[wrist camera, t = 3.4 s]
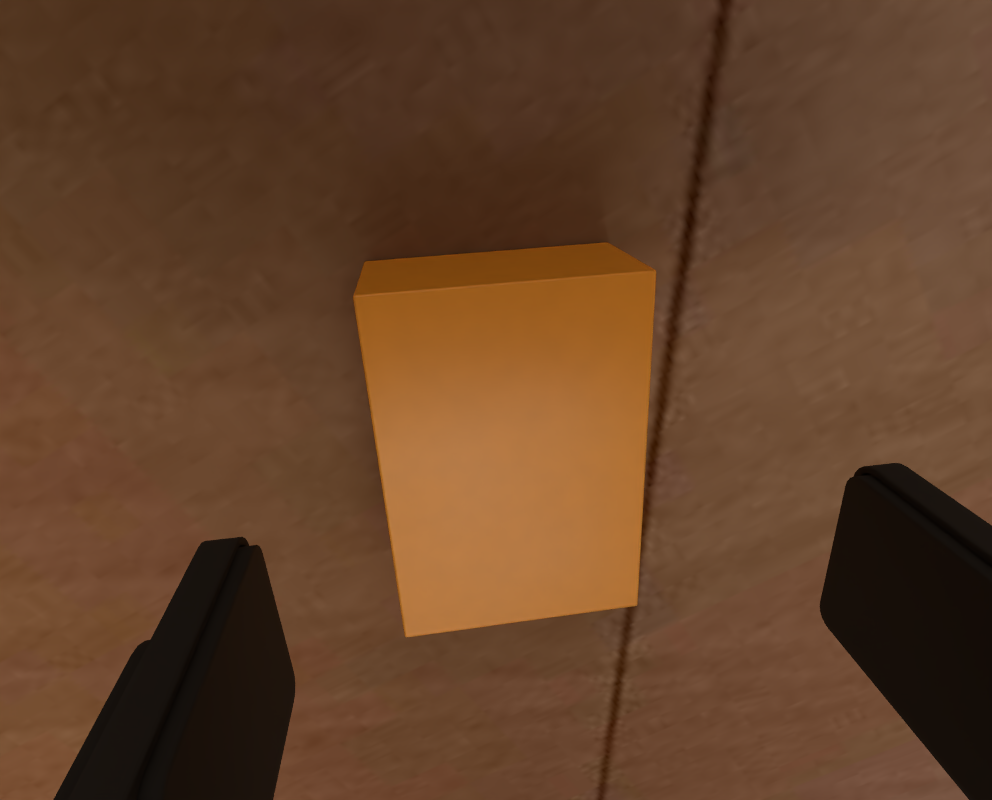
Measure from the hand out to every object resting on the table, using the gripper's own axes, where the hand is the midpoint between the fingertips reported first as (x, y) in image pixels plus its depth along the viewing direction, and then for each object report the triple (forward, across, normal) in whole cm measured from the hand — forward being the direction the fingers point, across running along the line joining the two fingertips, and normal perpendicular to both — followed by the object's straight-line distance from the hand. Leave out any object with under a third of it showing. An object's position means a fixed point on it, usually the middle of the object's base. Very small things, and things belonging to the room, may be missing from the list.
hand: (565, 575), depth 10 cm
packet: (+6, 0, 0) cm, 6 cm away
